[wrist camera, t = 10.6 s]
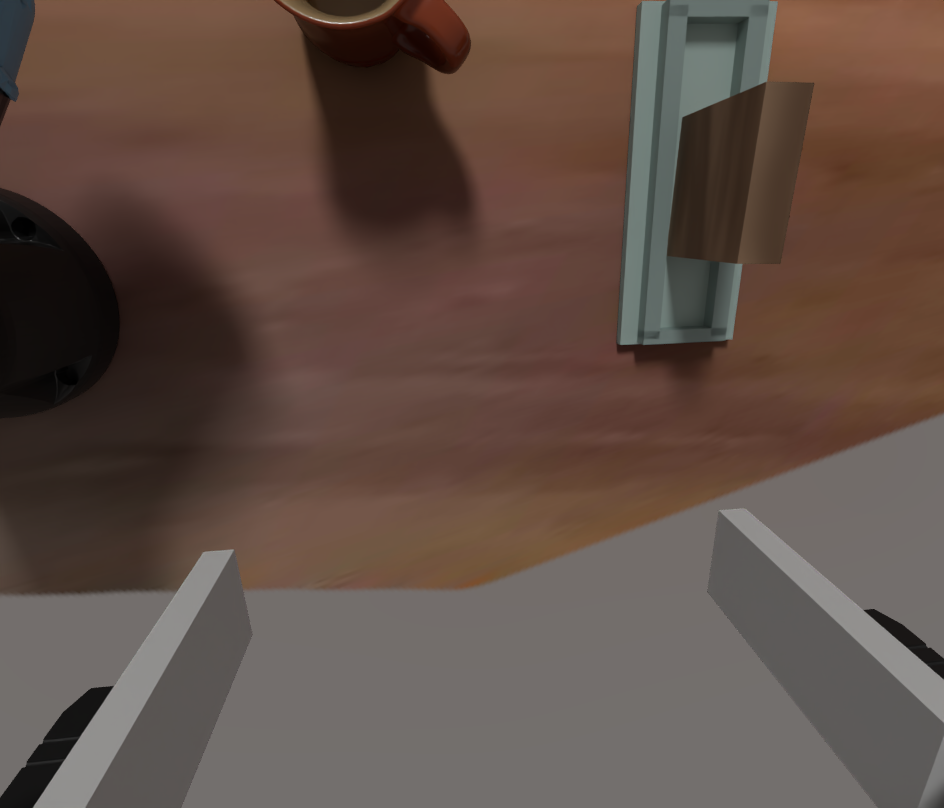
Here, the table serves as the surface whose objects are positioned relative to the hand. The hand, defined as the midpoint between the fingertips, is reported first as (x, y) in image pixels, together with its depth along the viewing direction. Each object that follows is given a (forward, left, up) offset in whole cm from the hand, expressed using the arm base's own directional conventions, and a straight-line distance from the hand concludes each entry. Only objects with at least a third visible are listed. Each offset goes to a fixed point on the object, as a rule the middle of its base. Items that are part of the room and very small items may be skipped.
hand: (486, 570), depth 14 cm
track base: (+18, +11, -27) cm, 34 cm away
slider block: (+18, +11, -26) cm, 33 cm away
